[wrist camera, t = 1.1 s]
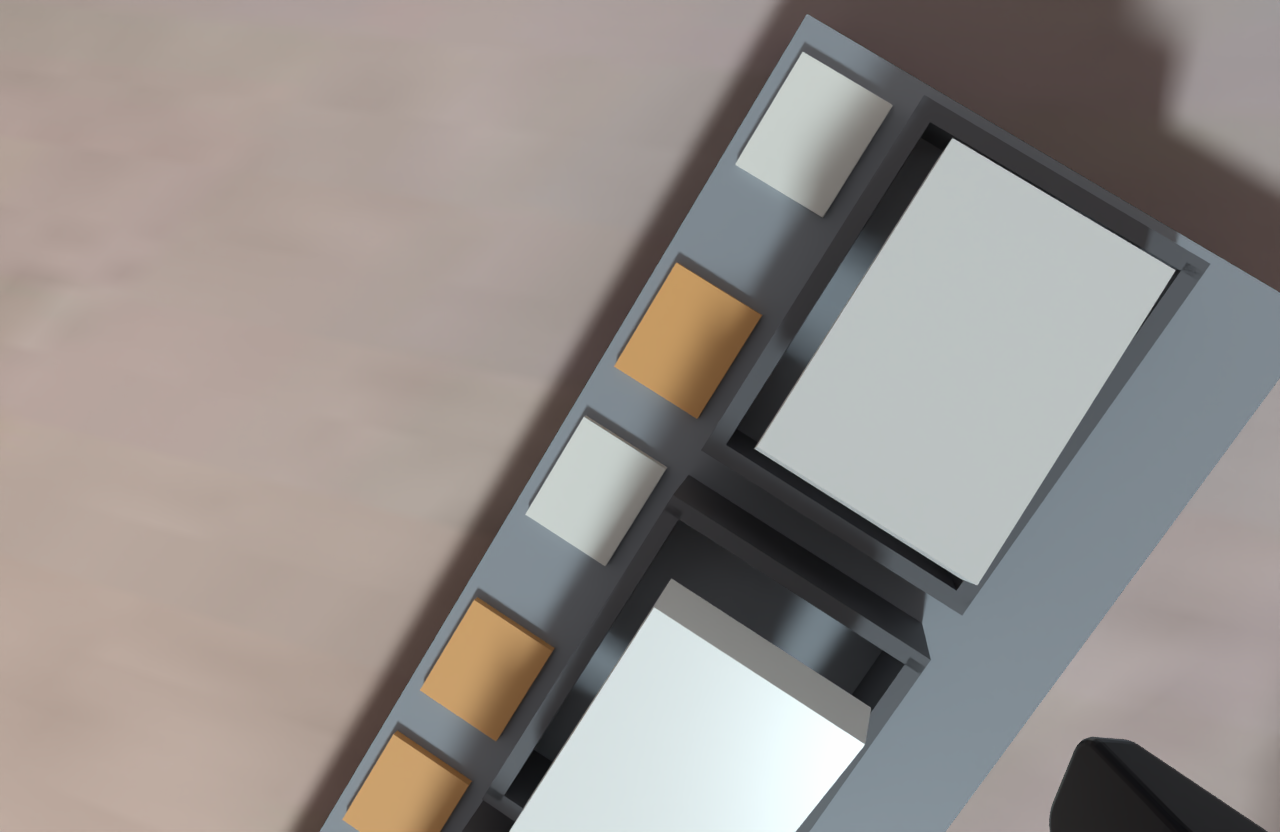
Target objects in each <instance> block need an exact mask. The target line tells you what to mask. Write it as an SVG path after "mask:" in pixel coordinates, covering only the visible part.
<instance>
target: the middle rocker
mask: <svg viewBox="0 0 1280 832" xmlns="http://www.w3.org/2000/svg"><path fill="white" fill-rule="evenodd" d="M870 712H871V707H869V706H868V705H866V704H865V703H863V702H862V701H860V700H858V699H857V698H855V697H854V696H852V695H851V694H849V693H848V692H846V691H845V690H843V689H841V688H840V687H838V686H837V685H835V684H834V683H832V682H831V681H829V680H828V679H826V678H824V677H823V676H821V675H820V674H818V673H817V672H815V671H814V670H812V669H811V668H809V667H807V666H806V665H804V664H803V663H801V662H800V661H798V660H797V659H795V658H794V657H792V656H790V655H789V654H787V653H786V652H784V651H783V650H781V649H780V648H778V647H777V646H775V645H773V644H772V643H770V642H769V641H767V640H766V639H764V638H763V637H761V636H760V635H758V634H756V633H755V632H753V631H752V630H750V629H749V628H747V627H746V626H744V625H743V624H741V623H739V622H738V621H736V620H735V619H733V618H732V617H730V616H729V615H727V614H726V613H724V612H722V611H721V610H719V609H718V608H716V607H715V606H713V605H712V604H710V603H709V602H707V601H705V600H704V599H702V598H701V597H699V596H698V595H696V594H695V593H693V592H692V591H690V590H688V589H687V588H685V587H684V586H682V585H681V584H679V583H678V582H676V581H675V580H673V579H671V580H670V581H669V583H668V584H667V586H666V587H665V589H664V590H663V592H662V594H661V595H660V597H659V598H658V600H657V601H656V603H655V604H654V606H653V608H652V609H651V611H650V612H649V614H648V615H647V617H646V618H645V620H644V622H643V623H642V625H641V626H640V628H639V629H638V631H637V632H636V634H635V635H634V637H633V639H632V640H631V642H630V643H629V645H628V646H627V648H626V649H625V651H624V653H623V654H622V656H621V657H620V659H619V660H618V662H617V663H616V665H615V666H614V668H613V670H612V671H611V673H610V674H609V676H608V677H607V679H606V680H605V682H604V684H603V685H602V687H601V688H600V690H599V691H598V693H597V694H596V696H595V698H594V699H593V701H592V702H591V704H590V705H589V707H588V708H587V710H586V711H585V713H584V715H583V716H582V718H581V719H580V721H579V722H578V724H577V725H576V727H575V729H574V730H573V732H572V733H571V735H570V736H569V738H568V739H567V741H566V743H565V744H564V746H563V747H562V749H561V750H560V752H559V753H558V755H557V756H556V758H555V760H554V761H553V763H552V764H551V766H550V767H549V769H548V770H547V772H546V774H545V775H544V777H543V778H542V780H541V781H540V783H539V784H538V786H537V788H536V789H535V791H534V792H533V794H532V795H531V797H530V798H529V800H528V802H527V803H526V805H525V806H524V808H523V810H522V811H521V813H520V815H519V816H518V818H517V820H516V821H515V823H514V825H513V826H512V828H511V829H510V831H509V832H796V830H797V829H798V828H799V827H800V825H801V824H802V823H803V822H804V820H805V819H806V818H807V817H808V815H809V814H810V813H811V812H812V810H813V809H814V808H815V807H816V805H817V804H818V803H819V802H820V800H821V799H822V798H823V797H824V795H825V794H826V793H827V792H828V790H829V789H830V788H831V787H832V785H833V784H834V783H835V782H836V780H837V779H838V778H839V777H840V775H841V774H842V773H843V772H844V770H845V769H846V768H847V767H848V765H849V764H850V763H851V762H852V760H853V759H854V758H855V757H856V755H857V754H858V753H859V752H860V750H861V749H862V748H863V747H864V745H865V742H866V736H867V730H868V724H869V718H870Z"/></svg>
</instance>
